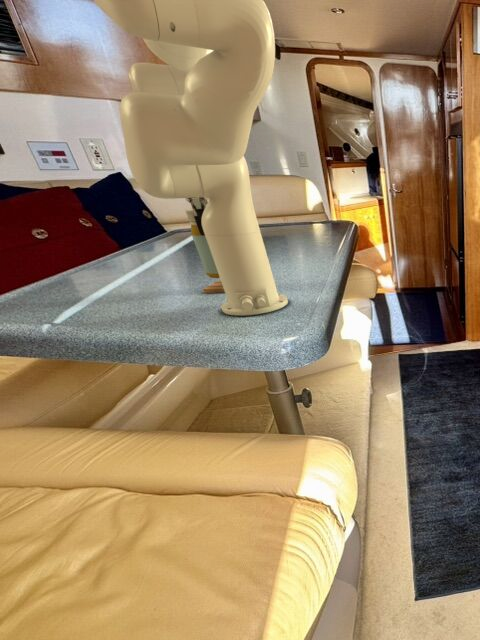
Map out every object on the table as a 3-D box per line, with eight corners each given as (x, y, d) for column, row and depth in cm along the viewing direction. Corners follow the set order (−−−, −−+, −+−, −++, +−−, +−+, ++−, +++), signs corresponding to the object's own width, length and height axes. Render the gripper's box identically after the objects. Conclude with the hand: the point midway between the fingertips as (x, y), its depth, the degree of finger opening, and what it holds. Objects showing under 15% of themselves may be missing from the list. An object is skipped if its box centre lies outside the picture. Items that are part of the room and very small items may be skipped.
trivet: (251, 283, 103) (250, 279, 103) (238, 292, 97) (237, 287, 96) (219, 284, 102) (218, 280, 102) (204, 293, 96) (202, 288, 95)
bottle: (247, 272, 101) (227, 208, 93) (227, 279, 95) (204, 211, 87) (221, 271, 101) (199, 207, 94) (200, 278, 95) (174, 210, 88)
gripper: (198, 143, 80) (228, 236, 88) (202, 145, 92) (228, 226, 101) (151, 142, 76) (187, 239, 85) (162, 144, 89) (192, 228, 98)
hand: (209, 231), depth 93 cm, fingers closed on bottle, 7 cm apart
